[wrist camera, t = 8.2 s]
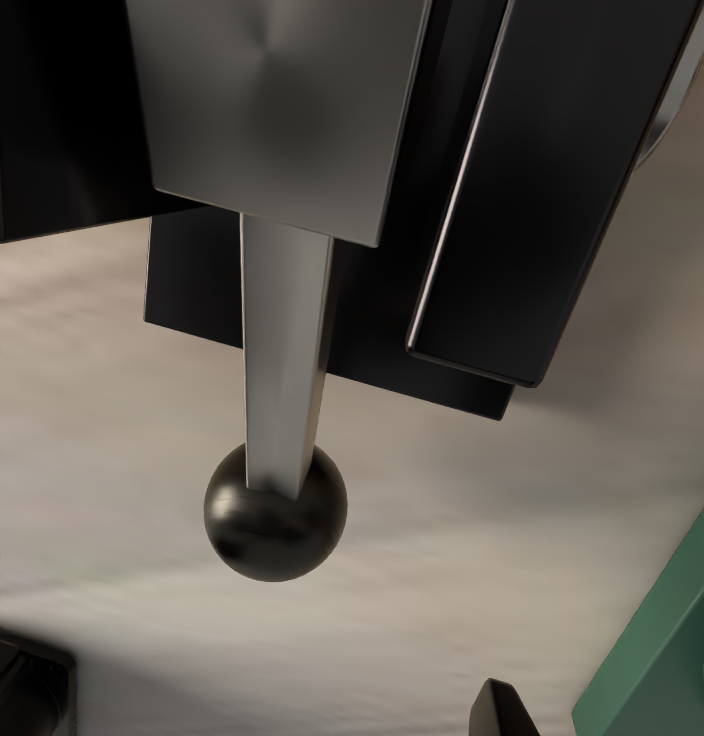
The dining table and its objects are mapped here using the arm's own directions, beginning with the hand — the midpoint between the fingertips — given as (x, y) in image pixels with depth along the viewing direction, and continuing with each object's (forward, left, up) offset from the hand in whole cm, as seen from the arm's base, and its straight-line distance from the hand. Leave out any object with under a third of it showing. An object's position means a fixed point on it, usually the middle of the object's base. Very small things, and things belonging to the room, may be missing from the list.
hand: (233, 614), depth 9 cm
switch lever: (+5, 0, -2) cm, 6 cm away
